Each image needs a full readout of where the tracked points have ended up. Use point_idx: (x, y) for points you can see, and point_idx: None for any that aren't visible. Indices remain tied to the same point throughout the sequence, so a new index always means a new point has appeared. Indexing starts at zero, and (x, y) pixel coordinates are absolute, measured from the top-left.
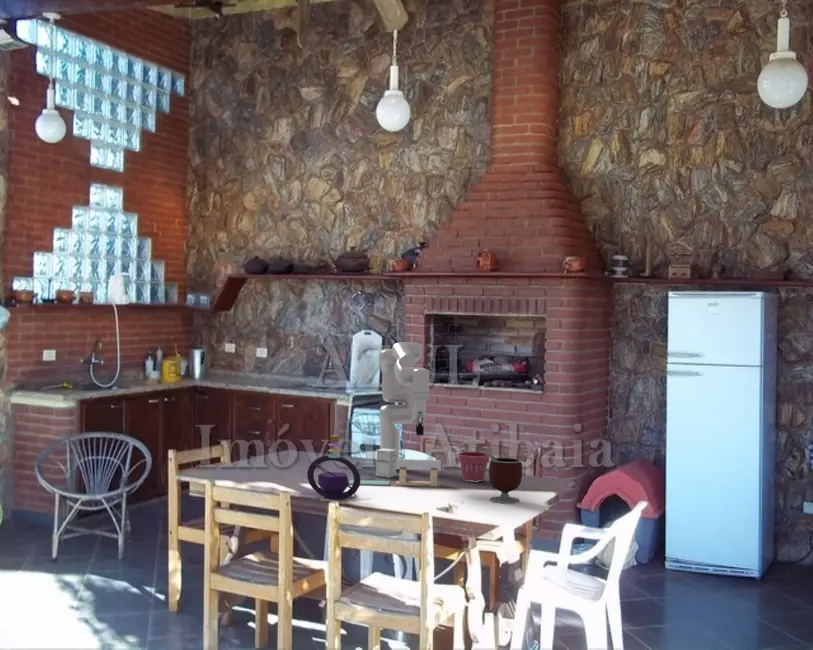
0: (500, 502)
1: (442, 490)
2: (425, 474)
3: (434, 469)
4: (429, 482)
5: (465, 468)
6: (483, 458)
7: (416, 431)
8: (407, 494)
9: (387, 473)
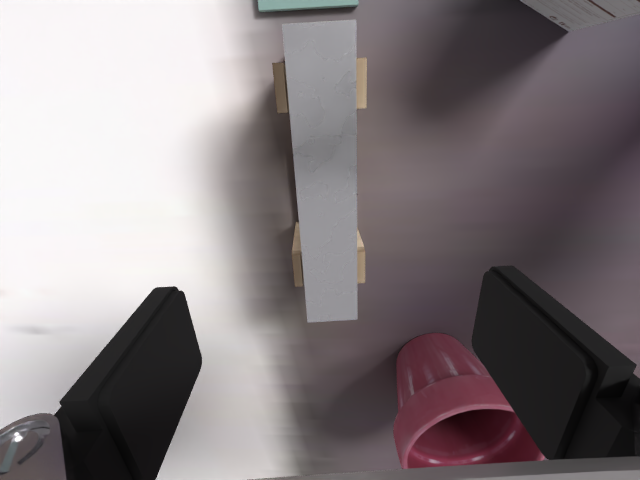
0: None
1: (220, 268)
2: (585, 191)
3: (294, 270)
4: None
5: (415, 377)
6: None
7: (131, 319)
8: (70, 130)
9: None
